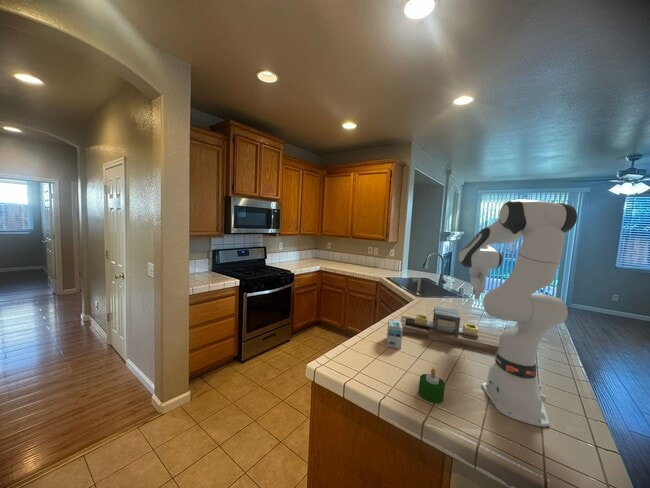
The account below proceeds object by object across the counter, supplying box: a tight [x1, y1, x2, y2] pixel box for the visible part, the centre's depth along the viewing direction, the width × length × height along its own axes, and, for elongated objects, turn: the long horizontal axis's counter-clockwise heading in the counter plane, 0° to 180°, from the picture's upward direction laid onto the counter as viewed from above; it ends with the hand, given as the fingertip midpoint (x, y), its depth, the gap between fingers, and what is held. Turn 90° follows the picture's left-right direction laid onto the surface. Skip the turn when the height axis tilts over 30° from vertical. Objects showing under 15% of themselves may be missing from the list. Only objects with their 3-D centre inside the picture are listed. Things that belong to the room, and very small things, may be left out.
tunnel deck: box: [400, 306, 501, 355], centre depth 142 cm, size 18×54×14 cm, turn 69°
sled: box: [415, 313, 479, 337], centre depth 143 cm, size 9×32×4 cm, turn 69°
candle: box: [417, 368, 446, 404], centre depth 91 cm, size 8×8×10 cm
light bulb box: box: [386, 318, 403, 350], centre depth 129 cm, size 11×7×11 cm, turn 168°
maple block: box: [438, 317, 455, 328], centre depth 143 cm, size 6×9×6 cm, turn 68°
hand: (475, 296), depth 136 cm, fingers open, 8 cm apart
